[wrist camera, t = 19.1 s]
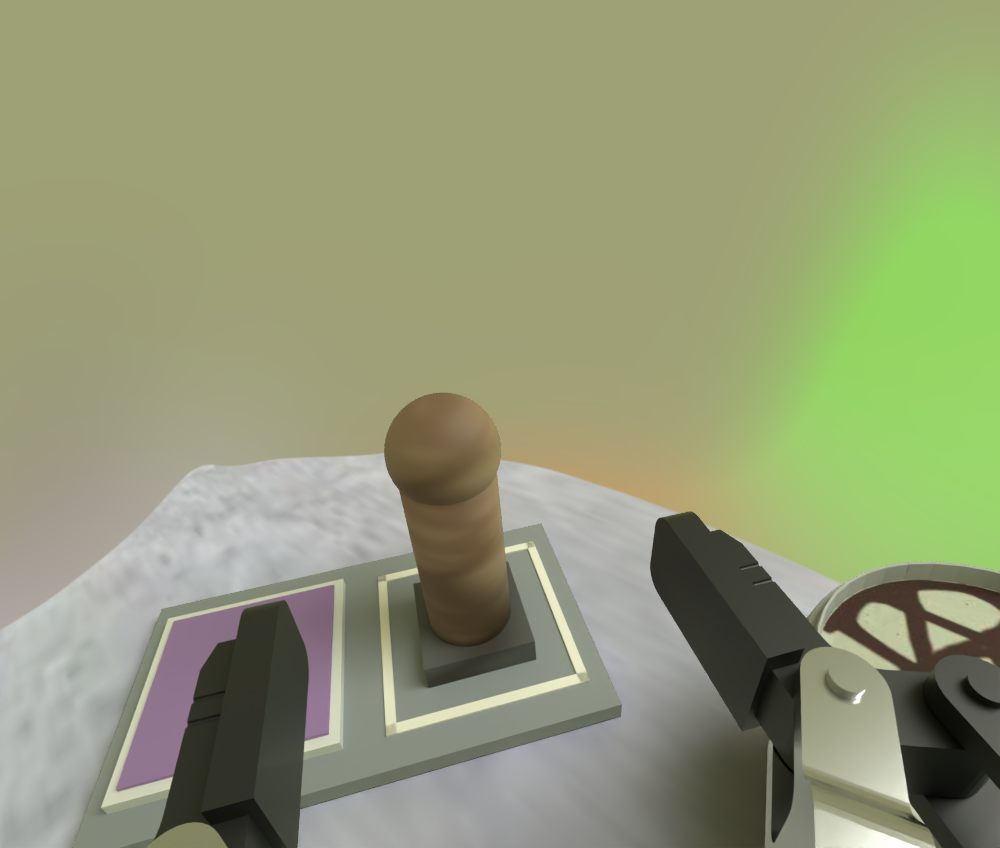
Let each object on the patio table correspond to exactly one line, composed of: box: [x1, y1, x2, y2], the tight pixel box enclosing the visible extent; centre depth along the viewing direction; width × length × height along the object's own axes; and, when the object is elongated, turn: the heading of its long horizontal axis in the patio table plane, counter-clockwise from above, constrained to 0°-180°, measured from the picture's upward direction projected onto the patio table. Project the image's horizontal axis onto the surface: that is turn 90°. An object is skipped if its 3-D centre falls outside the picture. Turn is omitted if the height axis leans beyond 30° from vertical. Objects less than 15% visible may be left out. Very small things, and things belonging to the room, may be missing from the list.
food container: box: [806, 562, 1000, 848], centre depth 20 cm, size 12×6×10 cm, turn 137°
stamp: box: [384, 393, 536, 688], centre depth 26 cm, size 6×6×14 cm
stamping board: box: [72, 524, 622, 848], centre depth 29 cm, size 24×13×2 cm, turn 103°
